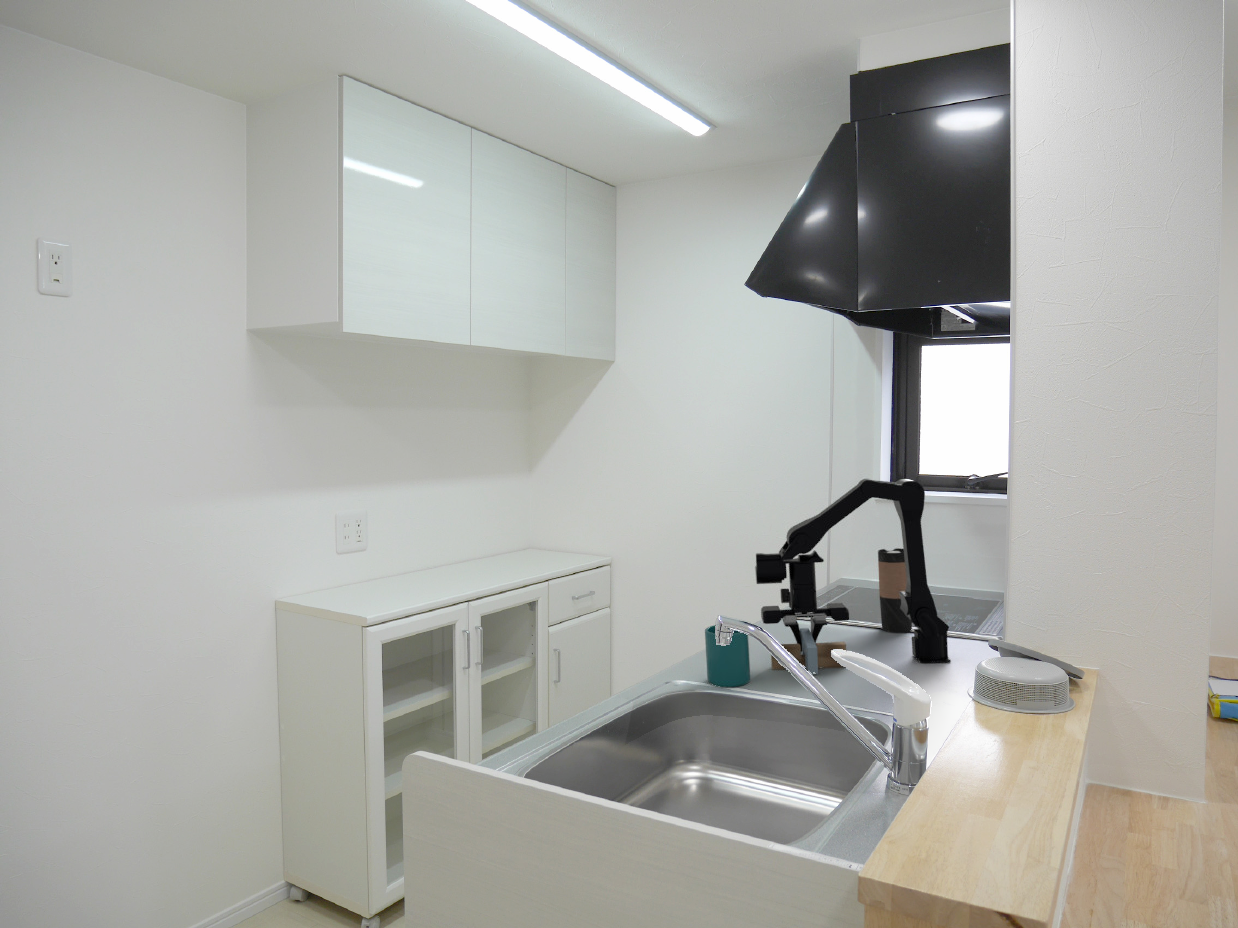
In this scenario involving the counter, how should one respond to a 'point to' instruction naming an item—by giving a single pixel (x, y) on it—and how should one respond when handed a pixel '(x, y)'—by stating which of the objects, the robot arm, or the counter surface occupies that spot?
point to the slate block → (809, 650)
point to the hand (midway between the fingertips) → (806, 651)
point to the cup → (727, 660)
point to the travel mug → (892, 590)
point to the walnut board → (822, 654)
